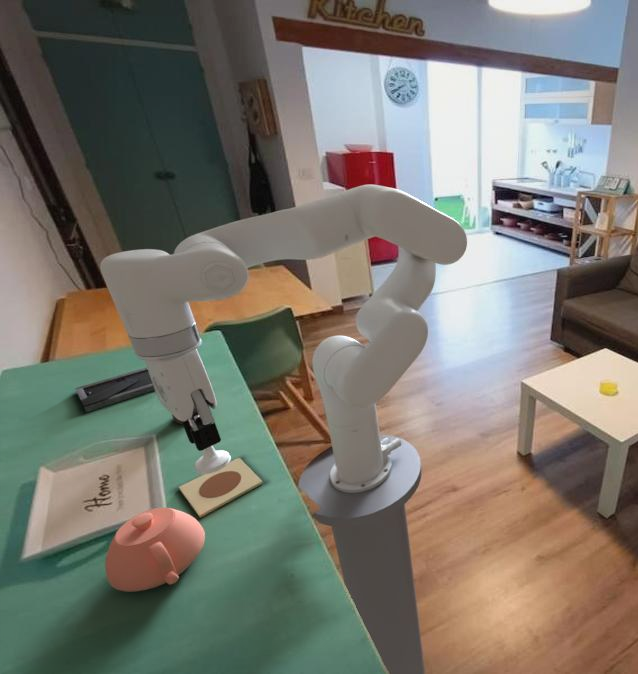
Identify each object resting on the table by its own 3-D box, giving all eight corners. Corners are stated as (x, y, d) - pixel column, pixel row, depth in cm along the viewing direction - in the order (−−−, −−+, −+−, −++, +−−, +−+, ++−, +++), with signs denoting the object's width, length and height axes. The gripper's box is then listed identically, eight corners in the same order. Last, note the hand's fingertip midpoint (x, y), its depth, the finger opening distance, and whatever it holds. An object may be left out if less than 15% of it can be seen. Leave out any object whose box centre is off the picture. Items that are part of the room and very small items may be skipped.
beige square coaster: (239, 459, 90) (238, 456, 90) (263, 483, 84) (262, 480, 84) (179, 489, 82) (178, 486, 82) (200, 517, 76) (199, 515, 76)
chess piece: (237, 458, 70) (221, 409, 66) (208, 477, 66) (188, 427, 61) (217, 449, 72) (200, 401, 67) (188, 468, 68) (167, 418, 63)
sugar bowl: (195, 520, 76) (177, 477, 71) (224, 566, 68) (206, 521, 63) (106, 567, 67) (79, 522, 63) (127, 626, 59) (99, 579, 55)
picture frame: (86, 412, 104) (173, 384, 117) (83, 405, 103) (171, 377, 116) (77, 393, 112) (160, 368, 124) (74, 386, 111) (157, 362, 123)
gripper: (115, 333, 60) (159, 435, 68) (154, 366, 52) (200, 477, 60) (176, 317, 66) (210, 413, 74) (221, 345, 58) (254, 449, 65)
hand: (205, 441), depth 67 cm, fingers closed on chess piece
